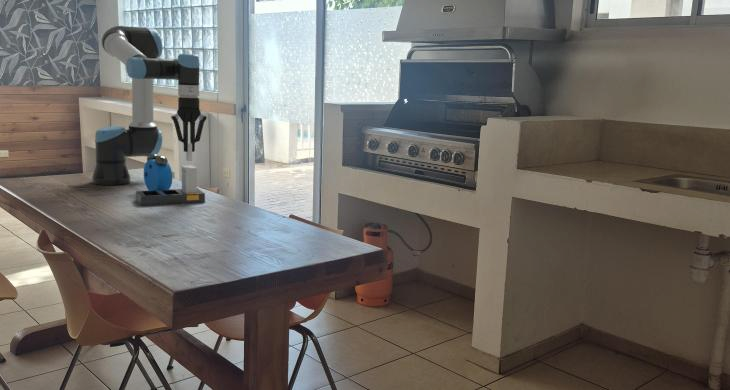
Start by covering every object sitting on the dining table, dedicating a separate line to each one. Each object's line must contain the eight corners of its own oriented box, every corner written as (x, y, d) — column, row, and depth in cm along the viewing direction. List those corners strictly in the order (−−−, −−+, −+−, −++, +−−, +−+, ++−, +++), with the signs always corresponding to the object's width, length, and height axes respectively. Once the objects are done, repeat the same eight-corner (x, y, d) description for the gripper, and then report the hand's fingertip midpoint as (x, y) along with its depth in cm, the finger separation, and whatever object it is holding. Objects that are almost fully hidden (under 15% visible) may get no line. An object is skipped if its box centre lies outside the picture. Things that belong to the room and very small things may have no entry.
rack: (135, 200, 247) (135, 190, 247) (197, 197, 258) (197, 187, 257) (141, 206, 238) (140, 196, 237) (205, 202, 248) (205, 193, 248)
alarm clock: (173, 194, 261) (172, 156, 259) (158, 195, 257) (157, 157, 254) (157, 189, 271) (156, 152, 268) (143, 190, 266) (142, 153, 264)
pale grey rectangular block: (181, 196, 253) (181, 165, 251) (192, 196, 255) (192, 165, 253) (185, 200, 247) (185, 168, 245) (197, 199, 249) (196, 168, 247)
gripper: (172, 97, 238) (173, 162, 242) (209, 97, 244) (209, 161, 248) (168, 96, 244) (169, 159, 249) (203, 96, 250) (204, 158, 255)
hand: (189, 160), depth 248 cm, fingers closed
